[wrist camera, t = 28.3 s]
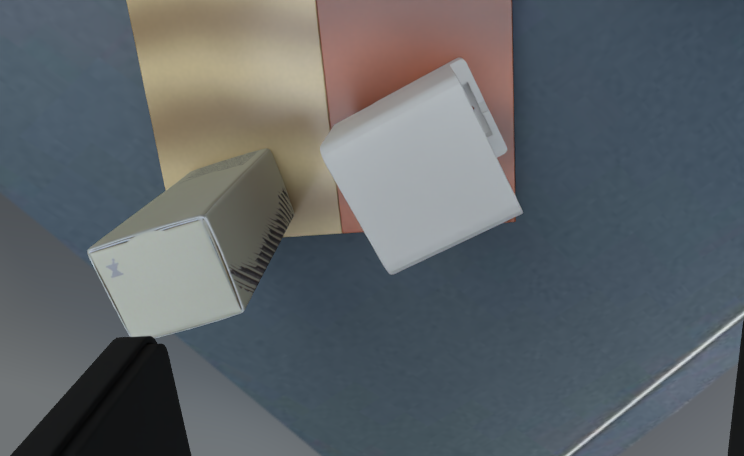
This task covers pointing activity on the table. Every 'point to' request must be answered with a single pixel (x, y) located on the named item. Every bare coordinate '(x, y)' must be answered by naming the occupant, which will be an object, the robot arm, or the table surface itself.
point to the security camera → (422, 167)
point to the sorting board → (305, 80)
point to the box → (196, 247)
